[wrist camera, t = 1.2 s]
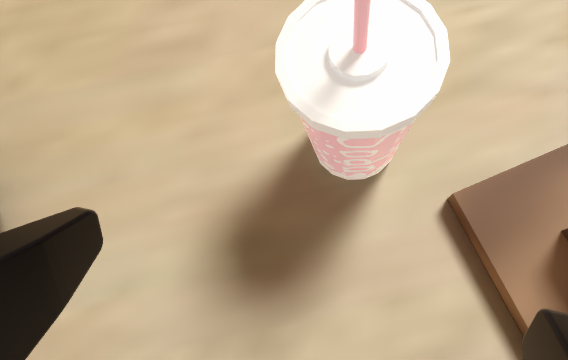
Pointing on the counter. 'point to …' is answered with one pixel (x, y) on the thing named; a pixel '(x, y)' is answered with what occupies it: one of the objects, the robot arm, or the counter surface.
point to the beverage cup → (360, 76)
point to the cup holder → (522, 233)
